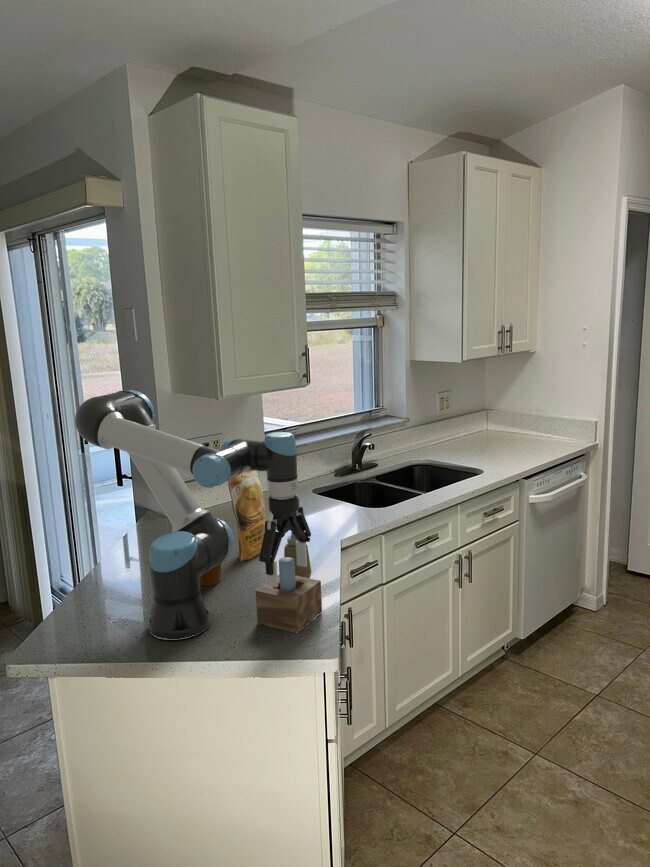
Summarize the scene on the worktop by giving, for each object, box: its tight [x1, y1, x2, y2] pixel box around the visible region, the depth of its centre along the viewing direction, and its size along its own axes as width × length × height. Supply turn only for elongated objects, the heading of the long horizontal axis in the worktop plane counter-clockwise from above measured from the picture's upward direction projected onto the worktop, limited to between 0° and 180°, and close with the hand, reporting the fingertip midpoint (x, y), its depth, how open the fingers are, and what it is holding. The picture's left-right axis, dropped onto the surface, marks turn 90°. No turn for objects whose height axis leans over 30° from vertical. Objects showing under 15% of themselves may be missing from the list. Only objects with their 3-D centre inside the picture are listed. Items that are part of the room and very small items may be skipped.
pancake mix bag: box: [227, 470, 267, 562], centre depth 216 cm, size 7×19×28 cm, turn 153°
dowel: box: [278, 556, 296, 592], centre depth 171 cm, size 4×4×14 cm
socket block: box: [255, 574, 323, 634], centre depth 172 cm, size 12×12×9 cm
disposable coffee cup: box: [199, 563, 222, 587], centre depth 196 cm, size 10×10×12 cm
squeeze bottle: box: [283, 532, 312, 579], centre depth 191 cm, size 8×8×18 cm
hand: (287, 575), depth 171 cm, fingers open, 13 cm apart
